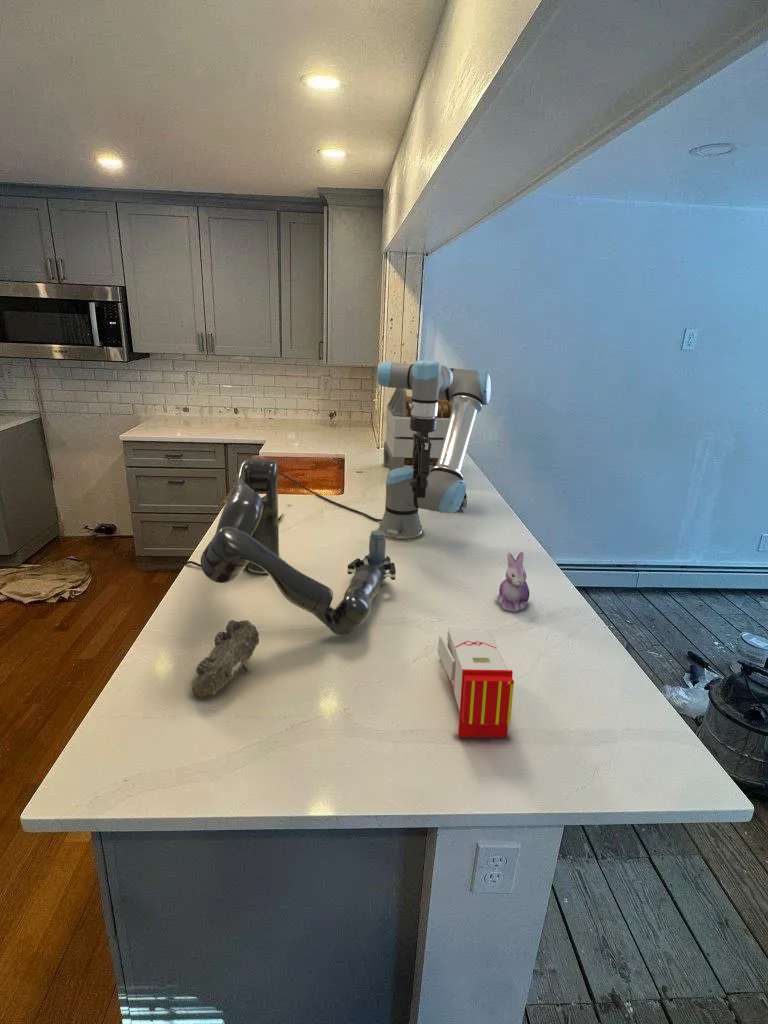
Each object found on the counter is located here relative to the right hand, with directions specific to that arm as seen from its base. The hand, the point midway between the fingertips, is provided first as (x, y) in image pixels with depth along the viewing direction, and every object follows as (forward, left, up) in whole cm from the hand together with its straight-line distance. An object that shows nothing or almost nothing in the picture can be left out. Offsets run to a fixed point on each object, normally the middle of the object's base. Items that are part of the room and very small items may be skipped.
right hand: (418, 494), depth 169 cm
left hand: (+2, -16, -16) cm, 23 cm away
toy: (+53, -34, -23) cm, 67 cm away
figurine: (+35, +4, -23) cm, 42 cm away
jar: (+3, -18, -23) cm, 29 cm away
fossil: (+16, -70, -23) cm, 75 cm away
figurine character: (-29, +51, -23) cm, 63 cm away
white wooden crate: (-74, +74, -23) cm, 107 cm away
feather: (-58, -13, -23) cm, 63 cm away
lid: (0, 0, +4) cm, 4 cm away
